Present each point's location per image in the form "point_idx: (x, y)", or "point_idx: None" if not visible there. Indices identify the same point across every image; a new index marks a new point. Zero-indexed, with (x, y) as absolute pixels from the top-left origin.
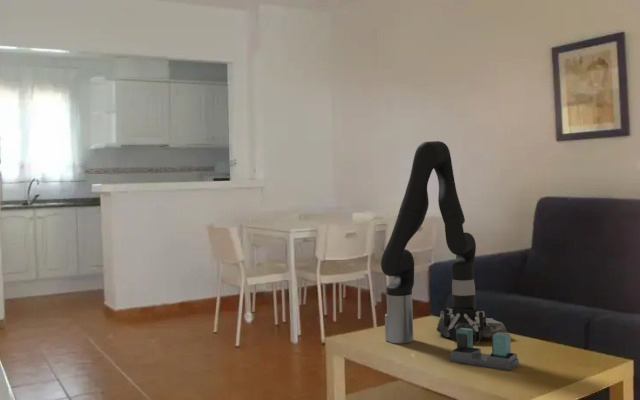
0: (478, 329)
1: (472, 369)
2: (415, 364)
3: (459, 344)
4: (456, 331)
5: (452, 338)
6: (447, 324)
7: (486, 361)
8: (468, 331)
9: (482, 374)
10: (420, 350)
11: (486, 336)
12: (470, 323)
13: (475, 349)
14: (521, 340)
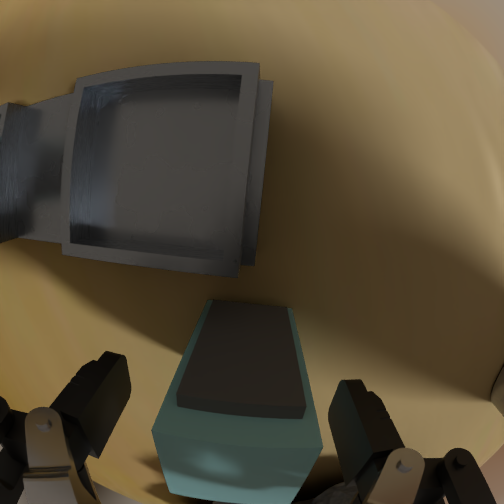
0: (26, 418)
1: (104, 36)
2: (418, 15)
3: (271, 335)
4: (347, 497)
5: (353, 383)
6: (443, 474)
7: (32, 106)
8: (155, 441)
9: (64, 16)
10: (484, 283)
11: (218, 501)
12: (63, 501)
13: (96, 244)
14: (139, 493)
